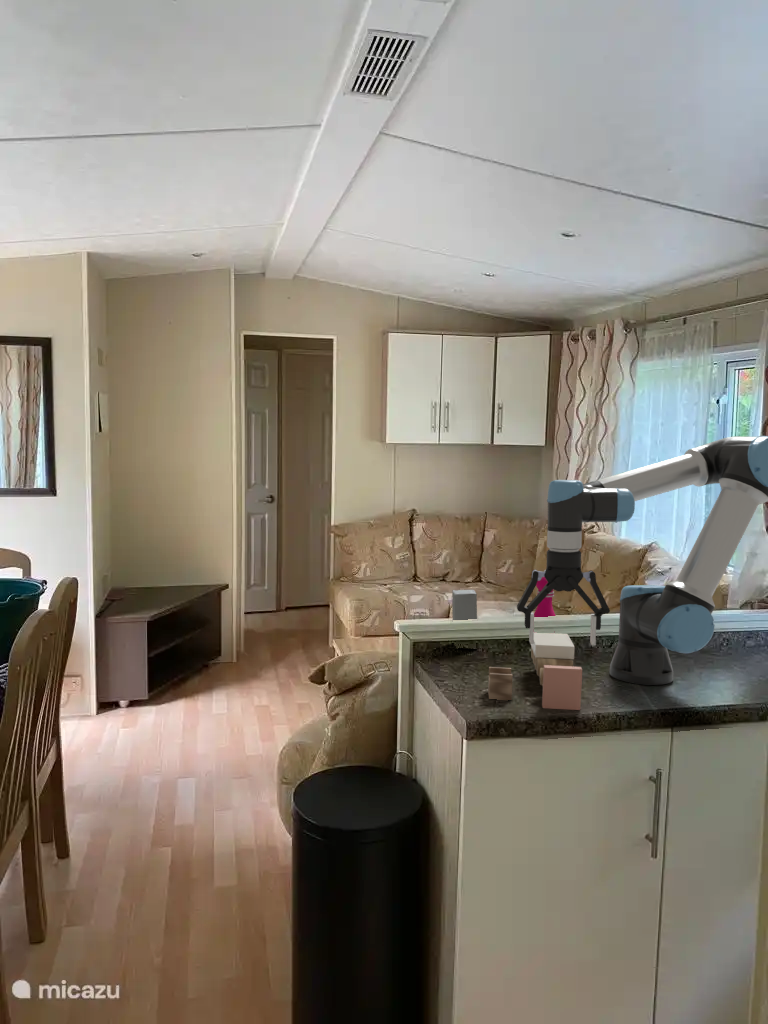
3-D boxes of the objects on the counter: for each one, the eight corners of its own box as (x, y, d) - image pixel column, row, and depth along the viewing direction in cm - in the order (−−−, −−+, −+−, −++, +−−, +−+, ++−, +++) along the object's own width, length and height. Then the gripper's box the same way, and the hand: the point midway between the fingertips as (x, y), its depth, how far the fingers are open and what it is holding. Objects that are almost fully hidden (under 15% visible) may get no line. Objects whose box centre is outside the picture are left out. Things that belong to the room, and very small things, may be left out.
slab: (566, 645, 204) (567, 633, 203) (574, 659, 191) (574, 646, 190) (530, 643, 204) (531, 632, 204) (535, 657, 192) (535, 644, 191)
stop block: (579, 707, 177) (580, 666, 177) (580, 710, 175) (582, 669, 175) (542, 705, 178) (543, 665, 177) (542, 708, 176) (544, 667, 175)
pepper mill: (550, 639, 239) (553, 572, 237) (527, 636, 243) (530, 569, 241) (559, 635, 245) (562, 569, 243) (536, 631, 249) (539, 567, 247)
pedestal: (510, 692, 187) (510, 667, 186) (511, 700, 181) (512, 675, 180) (488, 691, 187) (489, 666, 187) (489, 699, 181) (490, 674, 181)
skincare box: (478, 650, 224) (480, 594, 223) (452, 649, 224) (454, 593, 223) (474, 643, 233) (476, 588, 231) (450, 642, 233) (451, 587, 231)
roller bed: (562, 669, 207) (563, 642, 207) (579, 707, 177) (580, 675, 177) (530, 667, 208) (531, 641, 207) (542, 705, 178) (543, 674, 178)
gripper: (618, 548, 183) (615, 640, 185) (506, 546, 185) (505, 637, 187) (624, 552, 175) (622, 648, 177) (508, 550, 178) (506, 645, 180)
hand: (561, 643), depth 182 cm, fingers open, 13 cm apart
